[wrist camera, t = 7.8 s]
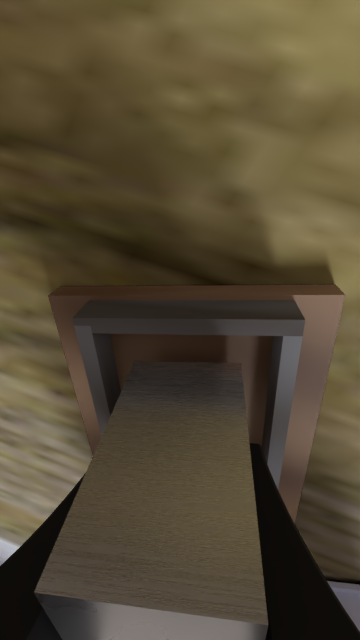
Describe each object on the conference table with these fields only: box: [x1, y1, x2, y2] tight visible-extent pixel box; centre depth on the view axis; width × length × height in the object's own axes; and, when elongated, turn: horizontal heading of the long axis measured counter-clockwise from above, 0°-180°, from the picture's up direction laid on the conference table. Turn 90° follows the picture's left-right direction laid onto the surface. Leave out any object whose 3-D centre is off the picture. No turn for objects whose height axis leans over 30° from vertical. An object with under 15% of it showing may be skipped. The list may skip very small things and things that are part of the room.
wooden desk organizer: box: [48, 285, 345, 524], centre depth 13 cm, size 19×11×8 cm, turn 3°
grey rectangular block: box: [34, 360, 268, 640], centre depth 9 cm, size 4×6×7 cm, turn 3°
